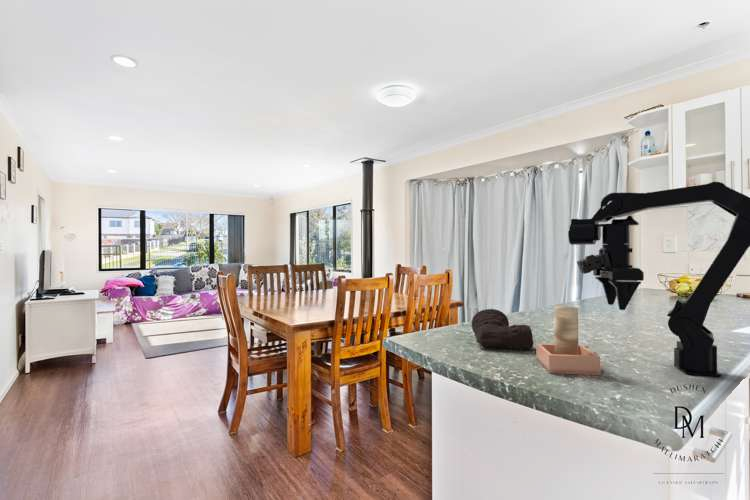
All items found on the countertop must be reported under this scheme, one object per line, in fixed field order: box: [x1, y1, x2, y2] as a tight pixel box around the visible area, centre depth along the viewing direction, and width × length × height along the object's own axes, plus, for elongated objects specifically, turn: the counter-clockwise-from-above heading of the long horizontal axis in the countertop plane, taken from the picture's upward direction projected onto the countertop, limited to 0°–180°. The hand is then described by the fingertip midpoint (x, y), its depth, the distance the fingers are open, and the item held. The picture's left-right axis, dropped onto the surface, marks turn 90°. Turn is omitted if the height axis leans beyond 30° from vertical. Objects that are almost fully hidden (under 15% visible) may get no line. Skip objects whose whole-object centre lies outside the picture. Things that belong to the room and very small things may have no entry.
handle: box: [582, 344, 597, 354], centre depth 105 cm, size 8×1×5 cm
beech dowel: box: [553, 305, 579, 355], centre depth 90 cm, size 5×5×13 cm
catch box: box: [535, 343, 602, 376], centre depth 90 cm, size 11×11×4 cm
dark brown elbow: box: [471, 308, 534, 351], centre depth 111 cm, size 10×15×15 cm
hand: (616, 307), depth 96 cm, fingers open, 9 cm apart
